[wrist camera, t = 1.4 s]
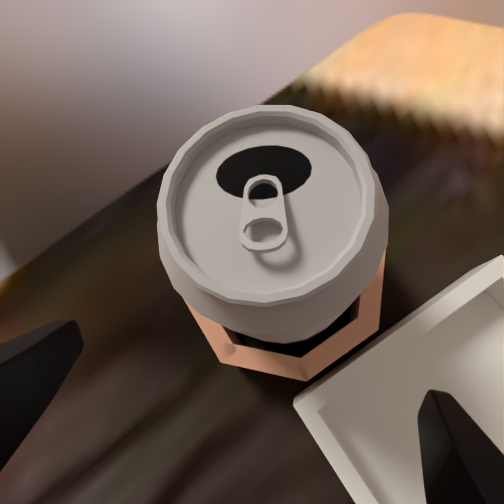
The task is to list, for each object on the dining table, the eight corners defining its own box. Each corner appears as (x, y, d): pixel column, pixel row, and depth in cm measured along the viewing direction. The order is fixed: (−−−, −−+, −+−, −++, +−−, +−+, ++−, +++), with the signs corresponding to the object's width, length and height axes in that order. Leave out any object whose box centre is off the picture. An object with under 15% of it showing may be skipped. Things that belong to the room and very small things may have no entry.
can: (338, 222, 21) (384, 65, 9) (352, 343, 19) (433, 327, 7) (225, 230, 22) (142, 97, 10) (224, 346, 19) (118, 336, 8)
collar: (408, 302, 19) (428, 293, 16) (261, 408, 18) (254, 419, 15) (301, 178, 22) (301, 152, 19) (174, 264, 22) (155, 250, 19)
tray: (684, 488, 15) (776, 520, 12) (465, 663, 14) (507, 741, 11) (471, 269, 19) (501, 254, 16) (294, 396, 18) (293, 405, 15)
